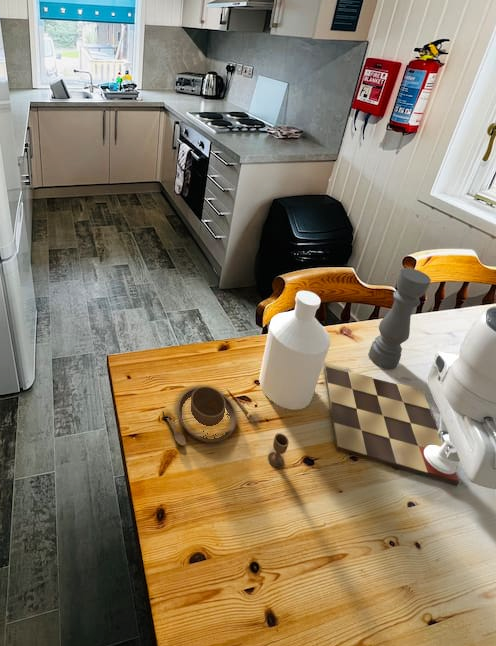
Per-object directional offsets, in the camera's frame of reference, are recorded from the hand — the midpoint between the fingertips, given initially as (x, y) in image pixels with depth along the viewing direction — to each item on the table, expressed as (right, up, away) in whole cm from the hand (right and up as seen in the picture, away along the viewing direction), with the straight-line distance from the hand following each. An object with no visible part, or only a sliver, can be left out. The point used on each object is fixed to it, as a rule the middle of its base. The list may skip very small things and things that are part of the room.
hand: (447, 447), depth 71 cm
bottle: (-23, +2, +18) cm, 29 cm away
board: (-5, -1, +11) cm, 12 cm away
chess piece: (0, -3, +2) cm, 4 cm away
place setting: (-40, -2, +7) cm, 40 cm away
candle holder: (+4, +5, +26) cm, 27 cm away
